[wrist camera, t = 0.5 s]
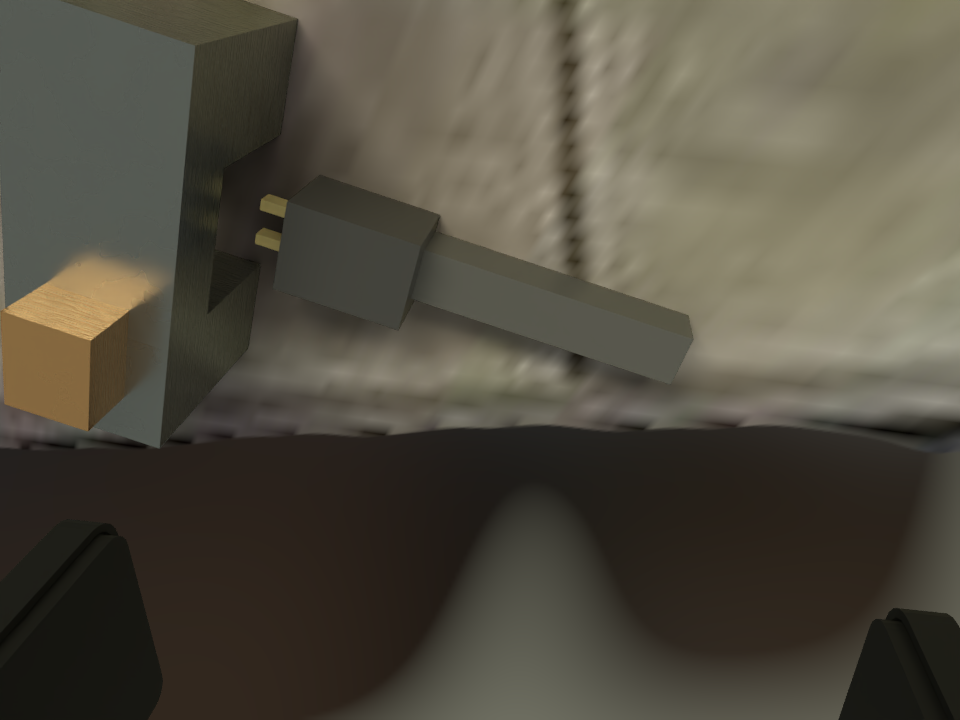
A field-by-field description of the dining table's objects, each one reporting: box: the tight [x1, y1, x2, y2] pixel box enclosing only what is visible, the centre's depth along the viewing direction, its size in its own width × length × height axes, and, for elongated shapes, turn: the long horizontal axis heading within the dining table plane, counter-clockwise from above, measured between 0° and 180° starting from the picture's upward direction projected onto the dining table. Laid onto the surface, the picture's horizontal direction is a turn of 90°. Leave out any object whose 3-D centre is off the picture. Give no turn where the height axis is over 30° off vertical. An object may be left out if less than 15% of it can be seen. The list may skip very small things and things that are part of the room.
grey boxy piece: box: [0, 0, 298, 448], centre depth 37 cm, size 20×8×14 cm, turn 164°
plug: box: [255, 175, 693, 385], centre depth 41 cm, size 5×24×5 cm, turn 74°
